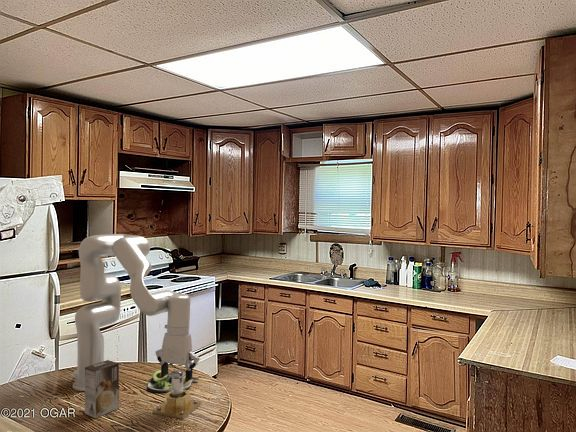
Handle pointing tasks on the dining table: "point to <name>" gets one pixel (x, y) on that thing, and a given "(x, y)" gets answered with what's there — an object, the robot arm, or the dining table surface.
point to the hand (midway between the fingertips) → (176, 378)
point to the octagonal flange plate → (177, 406)
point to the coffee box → (101, 388)
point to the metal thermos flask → (177, 383)
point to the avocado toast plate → (165, 382)
